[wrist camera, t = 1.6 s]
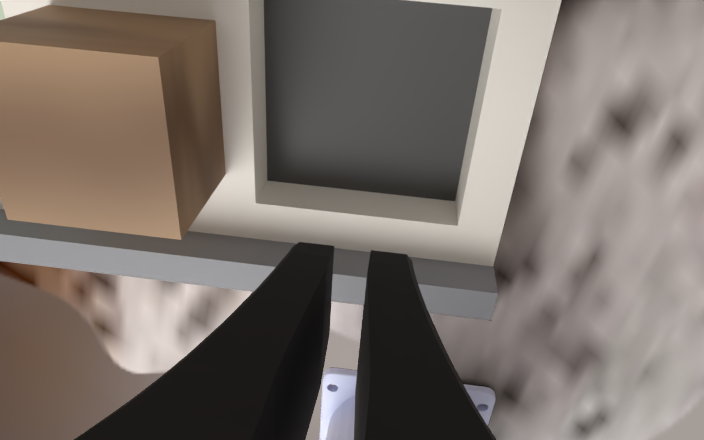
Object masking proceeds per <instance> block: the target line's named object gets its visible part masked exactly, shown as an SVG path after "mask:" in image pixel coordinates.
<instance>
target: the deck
mask: <svg viewBox="0 0 704 440" xmlns="http://www.w3.org/2000/svg"><path fill="white" fill-rule="evenodd" d="M561 1H562V0H0V20H3V19H6V18H9V17H12V16H15V15H19V14H22V13H25V12H28V11H31V10H35V9H38V8H41V7H44V6H47V5H56V6H66V7H77V8H88V9H99V10H109V11H120V12H131V13H141V14H152V15H163V16H173V17H184V18H195V19H205V20H215V22H216V37H217V52H218V67H219V82H220V97H221V112H222V127H223V142H224V157H225V172H226V175H225V176H224V178H223V179H222V181H221V182H220V184H219V185H218V187H217V188H216V189H215V191H214V192H213V194H212V195H211V197H210V198H209V200H208V201H207V203H206V204H205V206H204V207H203V209H202V210H201V212H200V213H199V214H198V216H197V217H196V219H195V220H194V222H193V223H192V225H191V226H190V228H189V229H188V231H187V232H186V234H185V235H184V237H183V238H182V239H181V240H177V239H169V238H160V237H152V236H143V235H135V234H126V233H118V232H109V231H101V230H92V229H84V228H75V227H67V226H58V225H50V224H41V223H33V222H24V221H16V220H8V219H7V216H6V213H5V210H4V207H3V204H2V201H1V198H0V261H6V262H15V263H23V264H31V265H39V266H47V267H55V268H64V269H72V270H80V271H88V272H96V273H105V274H113V275H121V276H129V277H137V278H145V279H154V280H162V281H170V282H178V283H186V284H195V285H203V286H211V287H219V288H227V289H235V290H244V291H252V292H254V291H255V290H256V289H257V288H258V287H259V285H260V284H261V283H262V282H263V281H264V280H265V279H266V278H267V277H268V276H269V274H270V273H271V272H272V271H273V270H274V269H275V268H276V266H277V265H278V264H279V263H280V262H281V261H282V259H283V258H284V257H285V256H286V255H287V253H288V252H289V251H290V250H291V248H292V247H293V246H294V245H296V244H297V243H299V242H305V243H314V244H322V245H331V246H334V262H333V279H332V296H331V301H334V302H342V303H350V304H358V305H364V300H365V290H366V280H367V272H368V265H369V259H370V253H371V250H374V251H383V252H391V253H400V254H407V255H408V256H409V258H410V259H411V260H412V263H413V268H414V272H415V276H416V279H417V282H418V285H419V288H420V291H421V294H422V297H423V299H424V302H425V305H426V307H427V310H428V312H429V313H432V314H440V315H448V316H456V317H465V318H473V319H481V320H489V321H491V319H492V315H493V312H494V308H495V304H496V301H497V297H498V289H497V284H496V278H495V273H494V268H493V265H494V261H495V257H496V254H497V250H498V246H499V242H500V238H501V234H502V230H503V226H504V222H505V219H506V215H507V211H508V207H509V203H510V199H511V195H512V191H513V187H514V184H515V180H516V176H517V172H518V168H519V164H520V160H521V156H522V152H523V148H524V145H525V141H526V137H527V133H528V129H529V125H530V121H531V117H532V113H533V110H534V106H535V102H536V98H537V94H538V90H539V86H540V82H541V78H542V75H543V71H544V67H545V63H546V59H547V55H548V51H549V47H550V43H551V39H552V36H553V32H554V28H555V24H556V20H557V16H558V12H559V8H560V4H561Z"/></svg>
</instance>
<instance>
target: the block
mask: <svg viewBox="0 0 704 440" xmlns="http://www.w3.org/2000/svg"><path fill="white" fill-rule="evenodd" d="M225 175H226V172H225V157H224V142H223V127H222V112H221V97H220V82H219V67H218V52H217V37H216V22H215V20H205V19H195V18H184V17H173V16H163V15H152V14H141V13H131V12H120V11H109V10H99V9H88V8H77V7H66V6H56V5H47V6H44V7H41V8H38V9H35V10H31V11H28V12H25V13H22V14H19V15H15V16H12V17H9V18H6V19H3V20H0V198H1V201H2V204H3V207H4V210H5V213H6V216H7V219H8V220H16V221H24V222H33V223H41V224H50V225H58V226H67V227H75V228H84V229H92V230H101V231H109V232H118V233H126V234H135V235H143V236H152V237H160V238H169V239H177V240H181V239H182V238H183V237H184V235H185V234H186V232H187V231H188V229H189V228H190V226H191V225H192V223H193V222H194V220H195V219H196V217H197V216H198V214H199V213H200V212H201V210H202V209H203V207H204V206H205V204H206V203H207V201H208V200H209V198H210V197H211V195H212V194H213V192H214V191H215V189H216V188H217V187H218V185H219V184H220V182H221V181H222V179H223V178H224V176H225Z"/></svg>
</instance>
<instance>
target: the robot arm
mask: <svg viewBox="0 0 704 440" xmlns="http://www.w3.org/2000/svg"><path fill="white" fill-rule="evenodd" d="M333 262H334V246H331V245H322V244H314V243H305V242H299V243H297V244H296V245H294V246H293V247H292V248H291V250H290V251H289V252H288V253H287V255H286V256H285V257H284V258H283V259H282V261H281V262H280V263H279V264H278V265H277V266H276V268H275V269H274V270H273V271H272V272H271V273H270V274H269V276H268V277H267V278H266V279H265V280H264V281H263V282H262V283H261V284H260V285H259V287H258V288H257V289H256V290H255V291H254V292H253V293H252V294H251V295H250V296H249V297H248V298H247V299H246V300H245V301H244V302H243V303H242V304H241V305H240V306H239V307H238V308H237V309H236V310H235V311H234V312H233V313H232V314H231V315H230V316H229V317H228V318H227V319H226V320H225V321H224V322H223V323H222V324H221V325H220V326H219V327H218V328H216V329H215V330H214V331H213V332H212V333H211V334H210V335H209V336H208V337H207V338H205V339H204V340H203V341H202V342H201V343H200V344H199V345H198V346H197V347H196V348H195V349H193V350H192V351H191V352H190V353H189V354H188V355H187V356H185V357H184V358H183V359H182V360H181V361H180V362H178V363H177V364H176V365H175V366H174V367H172V368H171V369H170V370H169V371H167V372H166V373H165V374H164V375H163V376H161V377H160V378H159V379H158V380H156V381H155V382H154V383H152V384H151V385H150V386H148V387H147V388H146V389H145V390H143V391H142V392H141V393H140V394H138V395H137V396H135V397H134V398H133V399H131V400H130V401H129V402H127V403H126V404H125V405H123V406H122V407H120V408H119V409H118V410H116V411H115V412H113V413H112V414H110V415H109V416H108V417H106V418H105V419H103V420H102V421H100V422H99V423H98V424H96V425H95V426H93V427H92V428H90V429H89V430H88V431H86V432H85V433H83V434H82V435H80V436H79V437H77V438H76V439H74V440H305V438H306V435H307V431H308V428H309V424H310V421H311V417H312V414H313V410H314V407H315V403H316V400H317V396H318V392H319V389H320V385H321V379H322V373H323V367H324V362H325V356H326V350H327V344H328V338H329V330H330V313H331V296H332V279H333ZM331 384H334V385H331ZM480 404H481V405H480ZM494 404H495V393H494V391H493V390H492V389H490V388H488V387H482V386H474V385H467V384H463V383H462V381H461V379H460V377H459V375H458V374H457V372H456V370H455V368H454V366H453V364H452V362H451V360H450V358H449V356H448V354H447V352H446V350H445V348H444V346H443V344H442V341H441V339H440V337H439V335H438V333H437V330H436V328H435V326H434V324H433V322H432V319H431V317H430V315H429V312H428V310H427V307H426V305H425V302H424V299H423V297H422V294H421V291H420V288H419V285H418V282H417V279H416V276H415V272H414V268H413V263H412V260H411V259H410V258H409V256H408V255H407V254H400V253H391V252H383V251H374V250H371V253H370V259H369V265H368V272H367V280H366V290H365V300H364V310H363V320H362V329H361V339H360V349H359V359H358V369H357V370H351V369H343V368H334V367H331V368H328V369H326V370H325V372H324V374H323V381H322V400H321V419H320V438H319V440H496V438H495V437H494V435H493V434H492V432H491V431H490V429H489V428H488V423H489V420H490V417H491V414H492V410H493V407H494Z"/></svg>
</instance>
